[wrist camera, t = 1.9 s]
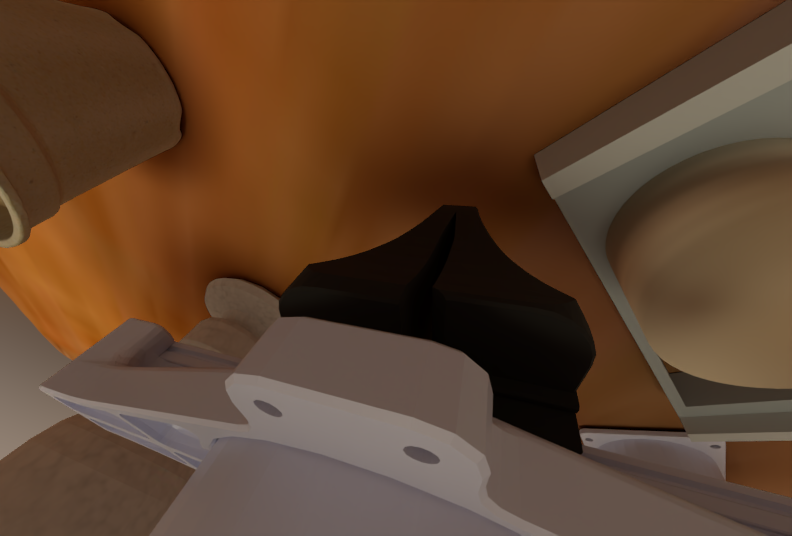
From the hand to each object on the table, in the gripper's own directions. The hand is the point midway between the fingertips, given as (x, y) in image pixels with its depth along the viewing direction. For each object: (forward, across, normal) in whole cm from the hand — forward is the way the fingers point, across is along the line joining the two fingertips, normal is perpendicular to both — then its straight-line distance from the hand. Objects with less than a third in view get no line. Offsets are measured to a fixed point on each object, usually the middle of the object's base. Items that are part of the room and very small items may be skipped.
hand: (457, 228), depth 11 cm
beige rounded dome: (+1, -8, 0) cm, 9 cm away
